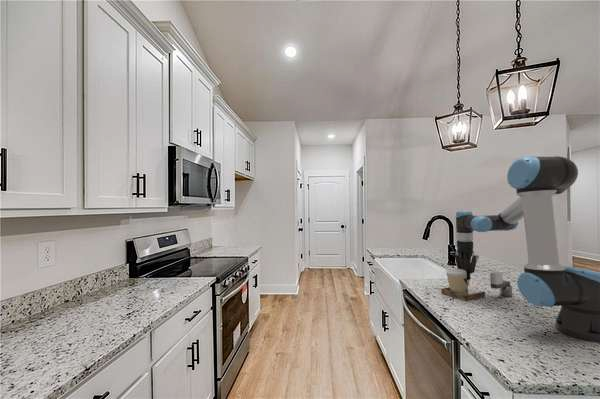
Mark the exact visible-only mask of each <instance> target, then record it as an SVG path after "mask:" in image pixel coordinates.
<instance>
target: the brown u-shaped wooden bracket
mask: <svg viewBox="0 0 600 399" xmlns="http://www.w3.org/2000/svg"><path fill="white" fill-rule="evenodd" d="M441 294H442V295H446V296H448V297H452V298H455V299H458V300H462V301H463V302H464V301H465V302H470V301H474V300H478V299H482V298H485V297H486V292H485V291H483V290H482V291H478V292H475V293H474V292H473V293H470V294H469V293H468V295H463V294H460V293H457V292H453V291H451V290H450V286H448V287H443V288H441Z"/></svg>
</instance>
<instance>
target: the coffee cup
mask: <svg viewBox="0 0 600 399" xmlns="http://www.w3.org/2000/svg"><path fill="white" fill-rule="evenodd" d="M445 273H446V276H447V280H448V285H449V286H448V287H450V290H451V291H453V292H457V293H460V294H463V295H469V288H468V287H469V286H468V284H467V272H466V271H465V270H463V269H457V268H451V269H448V270H446V272H445Z"/></svg>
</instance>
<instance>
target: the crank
mask: <svg viewBox="0 0 600 399" xmlns="http://www.w3.org/2000/svg"><path fill="white" fill-rule="evenodd" d="M489 275H490V288H491V289H495V290H498V289H499V290H500V288H503V287H507V286H511V281H509V280H503V272H499V271H494V272H490V274H489Z"/></svg>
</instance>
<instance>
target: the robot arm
mask: <svg viewBox="0 0 600 399" xmlns="http://www.w3.org/2000/svg"><path fill="white" fill-rule="evenodd" d="M578 175H579V169H578V167H577V165H576V163H575V162H574V161H572V160H571V159H570V158H567V157H564V156H559V155H558V156H556V155H555V156H527V157H525V156H524V157H520V158H518V159H516V160H515V161H513V162H512V164H511V165H510V166H509V169H508V170H507V175H506V178H507V184H509V185H510V187H511V188H513V189H516V195H517V196H518V198H516V199H515V200H514V201H513V202H512V203H510V204H509V205H508V206H507V207H505V209H504V210H502V211H501V212H500V213H498V214H493V215H474V214H473V212H472V211H471V210H458V211H456V212H455V229H456V233H455V235H456V248H457V249H456V251H454V252H452V255H453V257H454V259H455V264H456V269H463V270H465V271H466V272H467V284H468V287H469V286H470V281H471V274H474V273H475V272H476V271H475V270H476V265H477V261H478V259H479V256H480V255H478V254H477V255H476V254H475V252H474V232H478V233H487V232H494V231H495V232H496V231H502V232H503V231H504V232H506V231H507V232H508V231H514V230H515V229H517V227H518V225H519V221H521V220H523V221H524V231H525V241H526V249H527V250H526V251H527V259H528V260H527V261H528V262H526V264H525V265H524V266H523V272H522V273H520V274H519V276H518V277H517V280H516V281H517V282H516V283H517V288H518V290H519V293H520V294H521V295H522V297H523V298H524V299H525V300H526V301H527V302H529V304H532V305H533V306H536V307H546V308H550V307H551V308H552V307H559V306H560V309H559V311H558V314H557V317H556V319H555V328H556V330H558V331H559V332H561V333H563V334H565V335H567V336H570V337H573V338H577V339H580V340H583V341H584V340H585V341H590V342H595V343H596V342H597V343H600V272H599V271H597V270H591V269H588V268H587V269H586V268H581V267H576V266H575V267H574V266H564V265H562V264H561V263H560V258H559V248H558V240H557V232H556V222H555V221H556V220H555V212H554V204H553V197H554V196H556V195H561V194H563V193H564V192H565V191H567V190H568V189H569V188H571V187H572V186H573V184H574V183H575V182H576V181H577V179H578Z"/></svg>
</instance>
